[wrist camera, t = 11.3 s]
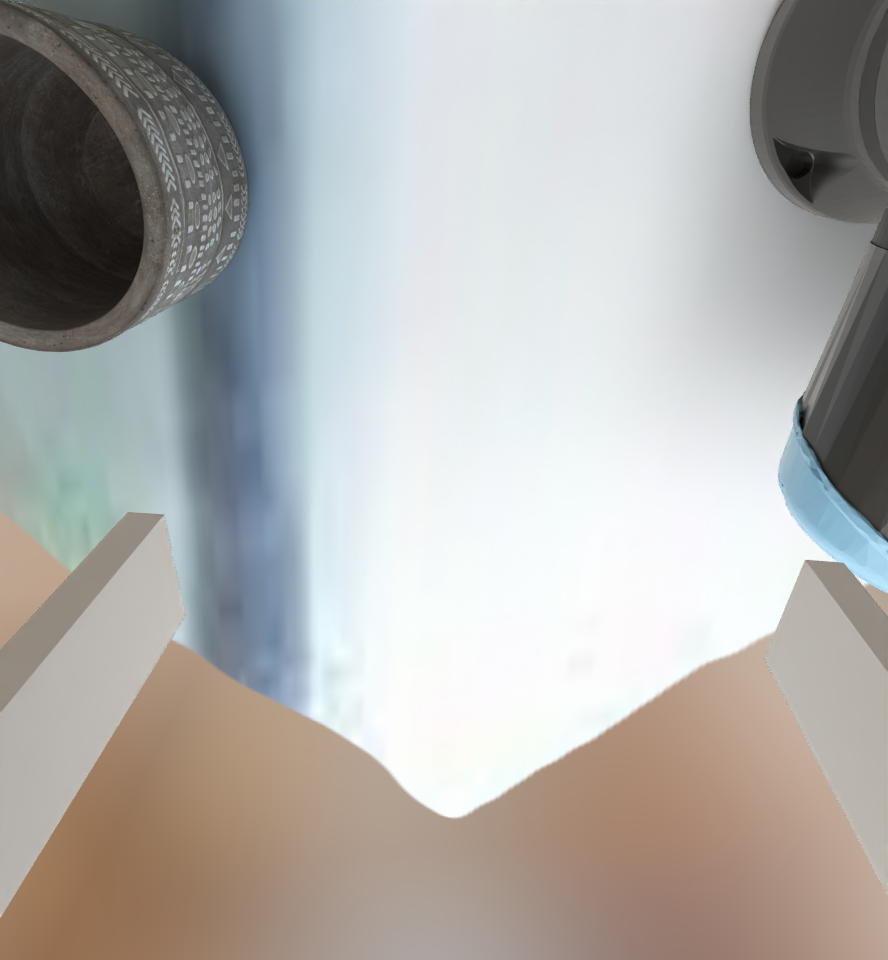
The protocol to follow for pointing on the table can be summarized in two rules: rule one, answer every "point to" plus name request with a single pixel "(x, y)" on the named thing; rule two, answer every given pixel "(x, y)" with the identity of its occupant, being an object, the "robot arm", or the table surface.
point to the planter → (106, 181)
